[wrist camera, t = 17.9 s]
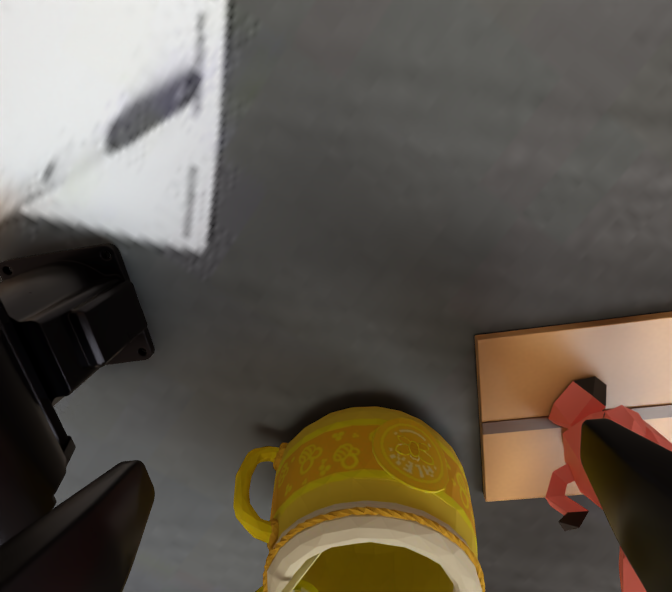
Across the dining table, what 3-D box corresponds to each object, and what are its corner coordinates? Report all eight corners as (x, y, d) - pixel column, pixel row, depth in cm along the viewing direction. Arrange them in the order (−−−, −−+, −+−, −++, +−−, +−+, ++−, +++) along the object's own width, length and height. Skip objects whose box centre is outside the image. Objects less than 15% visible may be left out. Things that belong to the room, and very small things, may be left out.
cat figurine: (668, 439, 22) (982, 746, 11) (547, 489, 24) (712, 799, 13) (618, 341, 20) (935, 590, 9) (491, 403, 22) (627, 676, 11)
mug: (494, 427, 23) (615, 693, 12) (412, 550, 27) (447, 837, 16) (283, 350, 22) (205, 562, 11) (229, 489, 26) (131, 749, 15)
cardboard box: (483, 494, 25) (486, 503, 24) (474, 335, 21) (477, 341, 21) (675, 479, 24) (685, 488, 23) (702, 307, 20) (714, 312, 19)
